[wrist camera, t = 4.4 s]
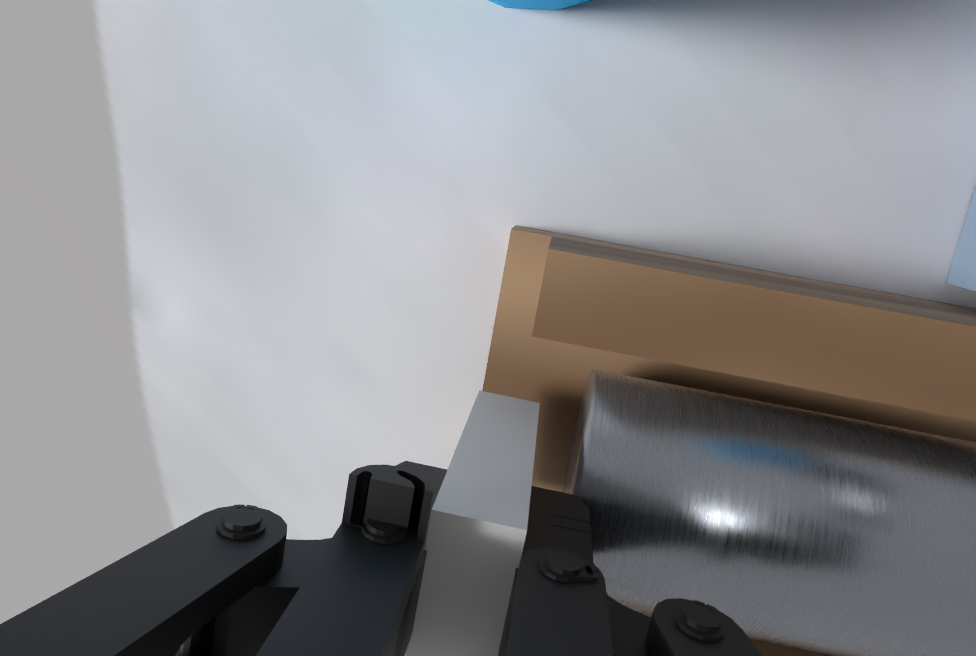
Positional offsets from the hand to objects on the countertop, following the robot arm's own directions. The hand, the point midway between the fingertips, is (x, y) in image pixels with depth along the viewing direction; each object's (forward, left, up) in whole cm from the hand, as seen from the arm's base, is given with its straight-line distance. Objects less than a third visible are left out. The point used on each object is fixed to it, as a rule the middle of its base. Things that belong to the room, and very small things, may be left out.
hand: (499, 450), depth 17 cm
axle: (0, +9, -2) cm, 9 cm away
